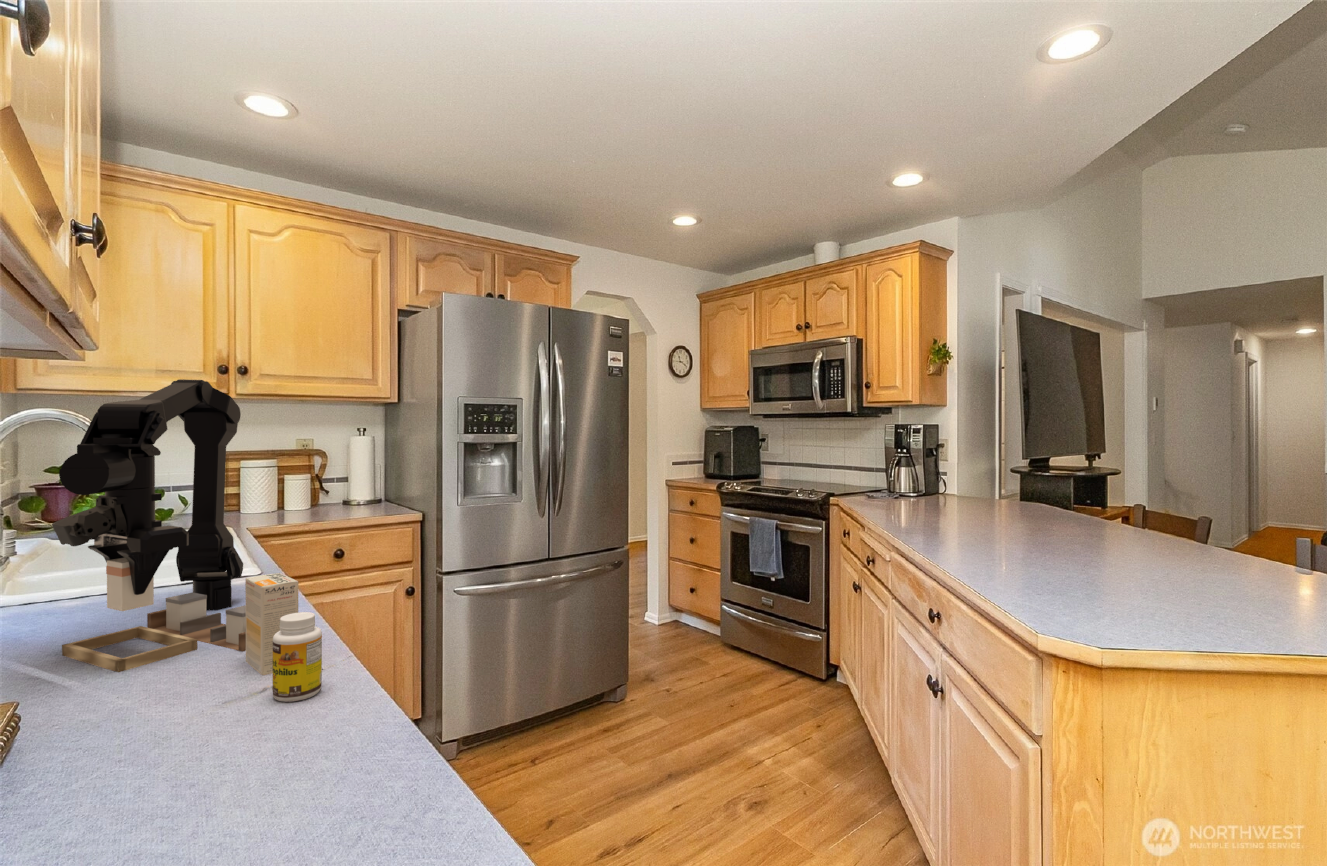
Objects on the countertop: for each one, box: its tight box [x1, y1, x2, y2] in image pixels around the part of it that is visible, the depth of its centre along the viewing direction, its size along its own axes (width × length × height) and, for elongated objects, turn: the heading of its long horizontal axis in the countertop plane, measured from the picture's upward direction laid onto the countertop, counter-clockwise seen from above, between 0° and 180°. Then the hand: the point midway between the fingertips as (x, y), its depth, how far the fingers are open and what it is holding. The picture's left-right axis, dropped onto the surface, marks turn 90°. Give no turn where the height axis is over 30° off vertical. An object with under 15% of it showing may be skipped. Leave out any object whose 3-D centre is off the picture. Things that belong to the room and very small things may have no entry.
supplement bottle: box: [271, 611, 323, 703], centre depth 84 cm, size 6×6×10 cm
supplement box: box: [245, 572, 299, 676], centre depth 92 cm, size 8×5×13 cm, turn 47°
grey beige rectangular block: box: [165, 591, 207, 631], centre depth 108 cm, size 4×4×5 cm
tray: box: [61, 625, 198, 673], centre depth 96 cm, size 15×10×2 cm, turn 65°
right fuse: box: [225, 604, 246, 645], centre depth 101 cm, size 4×4×5 cm
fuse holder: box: [146, 608, 246, 653], centre depth 105 cm, size 25×7×4 cm, turn 65°
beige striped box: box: [105, 558, 155, 612], centre depth 96 cm, size 4×4×7 cm
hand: (130, 592), depth 96 cm, fingers closed on beige striped box, 4 cm apart
